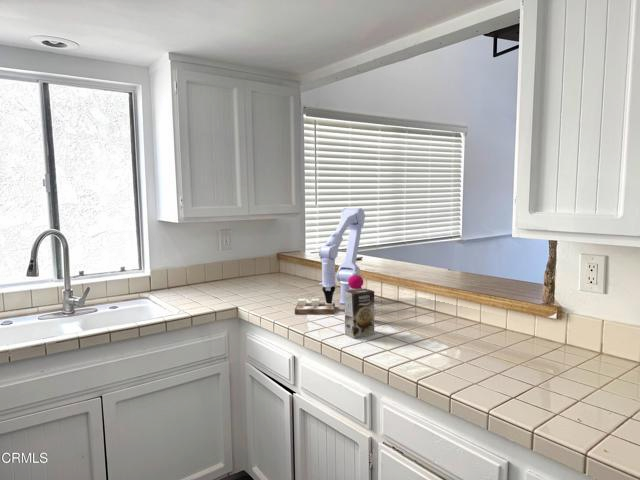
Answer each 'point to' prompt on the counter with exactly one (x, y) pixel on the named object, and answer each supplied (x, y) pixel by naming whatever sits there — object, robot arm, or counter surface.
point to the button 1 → (301, 302)
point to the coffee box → (359, 313)
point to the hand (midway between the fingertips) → (329, 303)
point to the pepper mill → (355, 282)
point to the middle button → (315, 302)
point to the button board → (315, 309)
